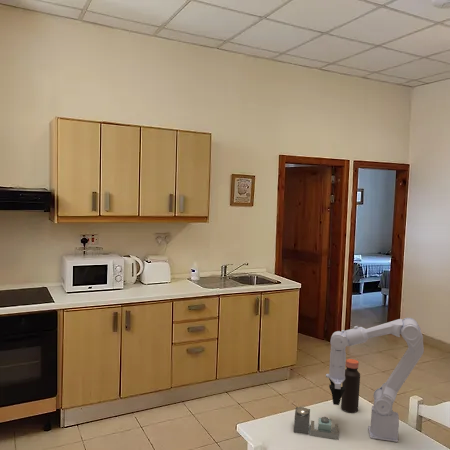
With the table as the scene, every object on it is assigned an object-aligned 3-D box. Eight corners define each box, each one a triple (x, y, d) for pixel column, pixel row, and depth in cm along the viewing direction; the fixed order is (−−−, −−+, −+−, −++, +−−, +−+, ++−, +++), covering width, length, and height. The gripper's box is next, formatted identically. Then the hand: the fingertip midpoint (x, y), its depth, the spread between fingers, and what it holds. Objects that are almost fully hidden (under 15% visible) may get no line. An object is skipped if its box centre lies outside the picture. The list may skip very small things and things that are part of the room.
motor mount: (338, 428, 166) (339, 410, 165) (338, 439, 158) (339, 420, 158) (295, 422, 169) (295, 404, 168) (293, 433, 161) (294, 414, 161)
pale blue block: (330, 429, 165) (331, 416, 165) (330, 436, 161) (331, 422, 160) (318, 428, 166) (318, 415, 166) (317, 434, 161) (318, 420, 161)
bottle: (349, 414, 177) (352, 365, 176) (337, 407, 183) (340, 359, 181) (361, 411, 180) (364, 362, 179) (349, 403, 186) (352, 357, 185)
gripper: (325, 356, 174) (324, 390, 175) (327, 370, 160) (325, 407, 161) (344, 358, 173) (342, 392, 174) (347, 372, 159) (345, 409, 160)
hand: (335, 399), depth 167 cm, fingers open, 7 cm apart
